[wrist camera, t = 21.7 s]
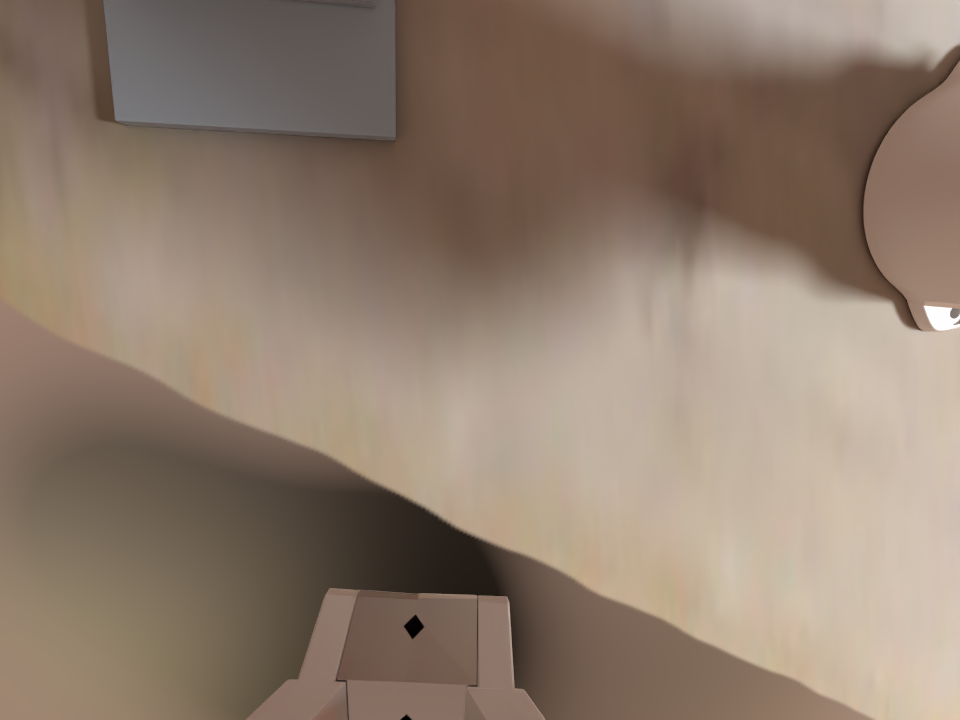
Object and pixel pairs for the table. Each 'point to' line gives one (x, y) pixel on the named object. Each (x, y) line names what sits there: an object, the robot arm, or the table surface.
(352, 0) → the sliding jaw
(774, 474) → the table surface
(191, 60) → the vise
